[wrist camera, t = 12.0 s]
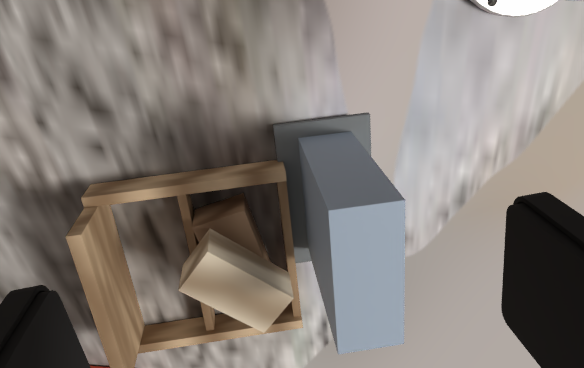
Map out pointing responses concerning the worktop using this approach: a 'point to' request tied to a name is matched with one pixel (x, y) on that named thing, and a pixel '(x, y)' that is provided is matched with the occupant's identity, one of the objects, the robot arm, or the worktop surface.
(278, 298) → the offcut upper
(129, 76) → the worktop surface
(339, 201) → the grey-blue rectangular brick
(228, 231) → the offcut lower
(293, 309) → the rack
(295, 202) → the mat
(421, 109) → the worktop surface
